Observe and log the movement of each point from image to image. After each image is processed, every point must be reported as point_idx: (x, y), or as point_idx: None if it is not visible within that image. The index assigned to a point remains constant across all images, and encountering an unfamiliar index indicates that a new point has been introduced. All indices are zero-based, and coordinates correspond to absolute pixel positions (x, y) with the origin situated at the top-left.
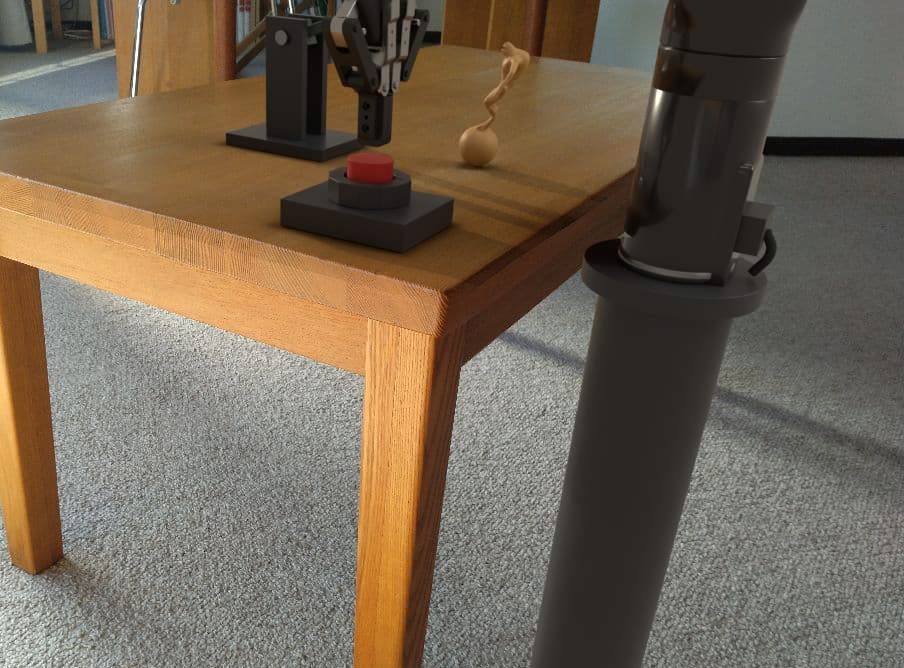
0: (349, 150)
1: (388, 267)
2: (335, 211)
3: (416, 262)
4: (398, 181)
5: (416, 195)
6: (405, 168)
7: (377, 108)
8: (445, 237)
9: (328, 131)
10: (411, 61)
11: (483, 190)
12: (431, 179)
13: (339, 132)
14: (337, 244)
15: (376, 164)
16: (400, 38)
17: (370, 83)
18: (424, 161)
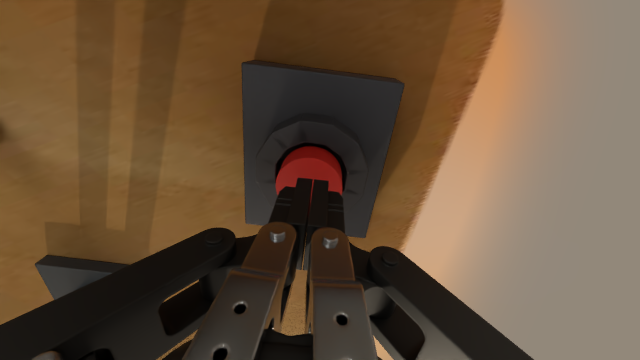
0: (80, 260)
1: (450, 75)
2: (380, 177)
3: (421, 50)
4: (318, 134)
5: (264, 116)
6: (78, 192)
7: (332, 223)
8: (307, 50)
9: (60, 295)
10: (174, 258)
11: (72, 72)
12: (91, 151)
13: (52, 286)
14: (393, 154)
15: (335, 171)
16: (263, 330)
17: (406, 261)
18: (29, 184)
